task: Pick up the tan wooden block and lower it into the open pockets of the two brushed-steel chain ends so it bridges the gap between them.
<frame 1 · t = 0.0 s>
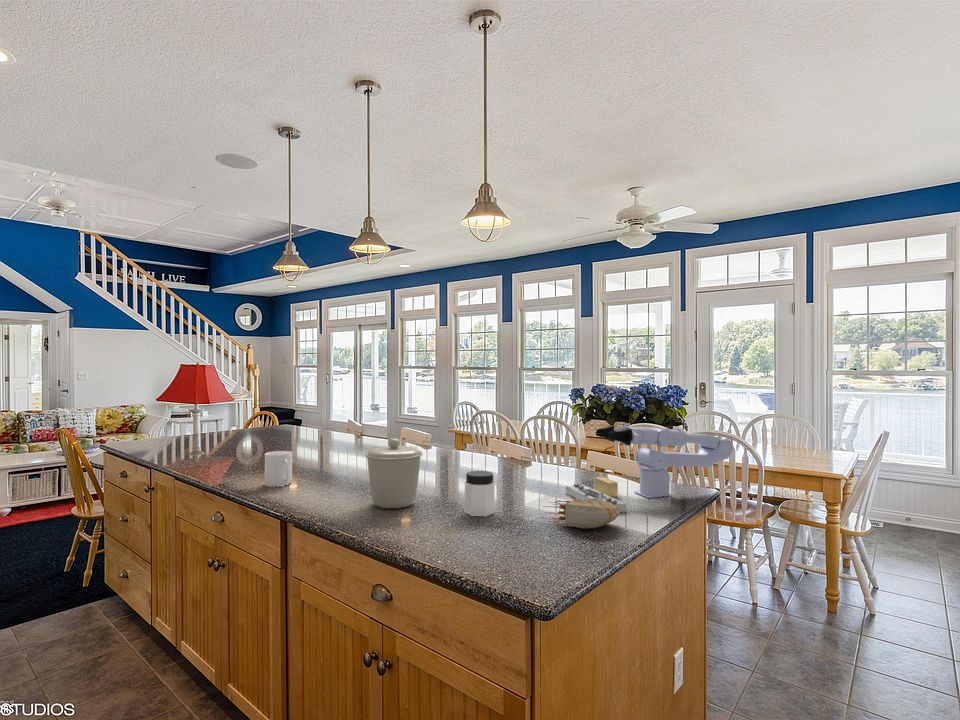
hand: (602, 434, 175), 22 cm above the worktop, tool horizontal, fingers open, 7 cm apart
jar: (479, 513, 159), on the worktop
canister: (393, 505, 168), on the worktop
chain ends: (594, 502, 172), on the worktop
tan wooden block: (605, 494, 182), on the worktop
nautilus: (579, 526, 148), on the worktop
mug: (280, 485, 194), on the worktop
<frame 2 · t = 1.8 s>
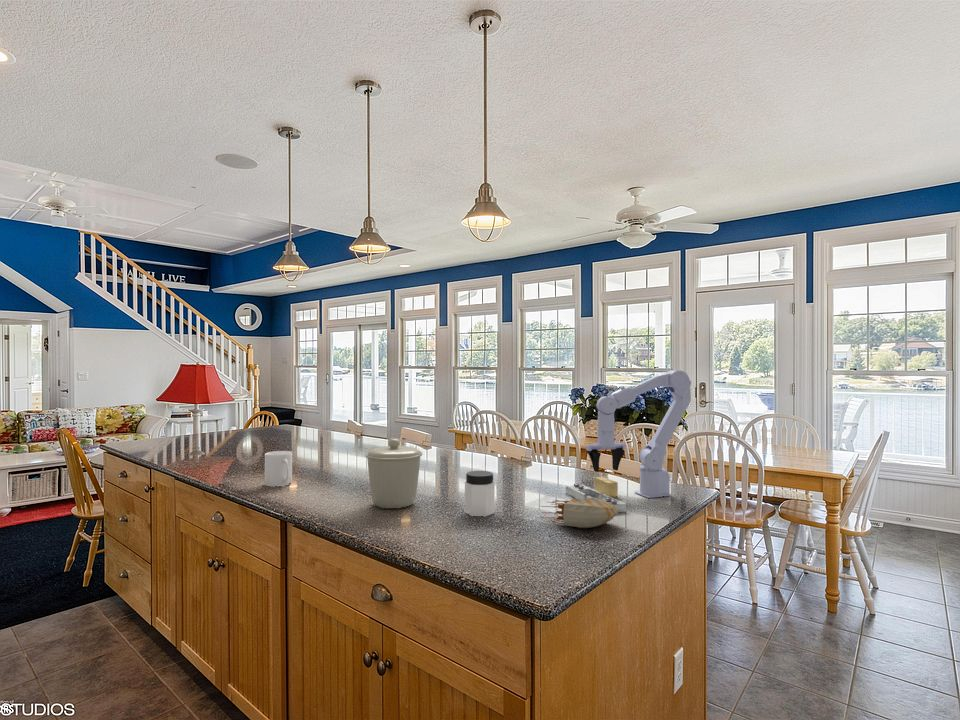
hand: (605, 470, 182), 8 cm above the worktop, tool pointing down, fingers open, 7 cm apart
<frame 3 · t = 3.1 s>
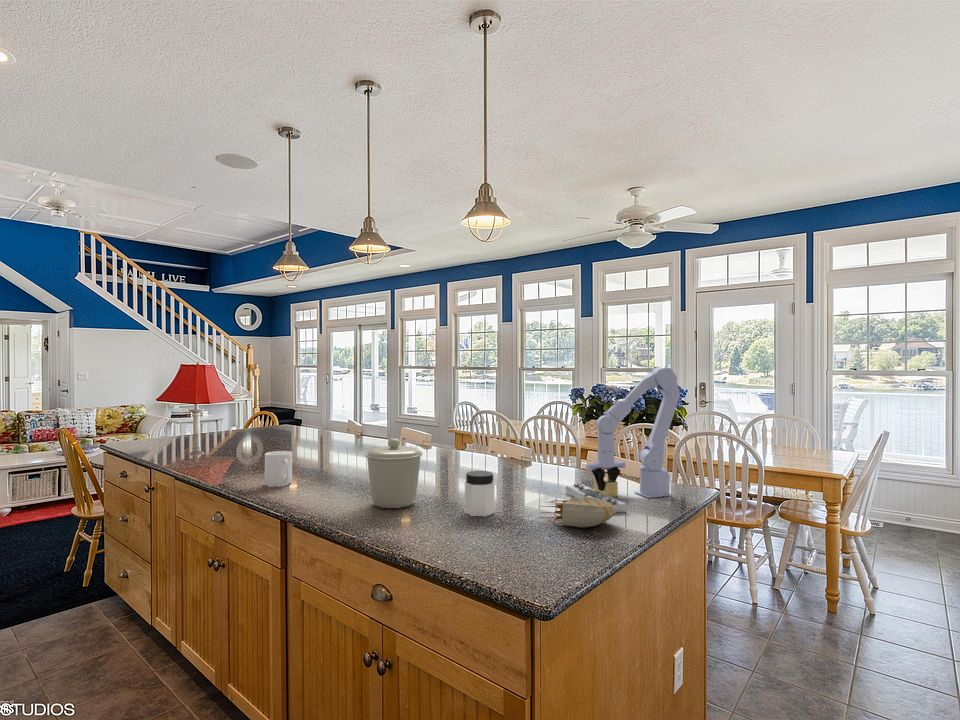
hand: (605, 489, 182), 1 cm above the worktop, tool pointing down, fingers closed on tan wooden block, 3 cm apart
tan wooden block: (605, 493, 182), on the worktop, touching gripper
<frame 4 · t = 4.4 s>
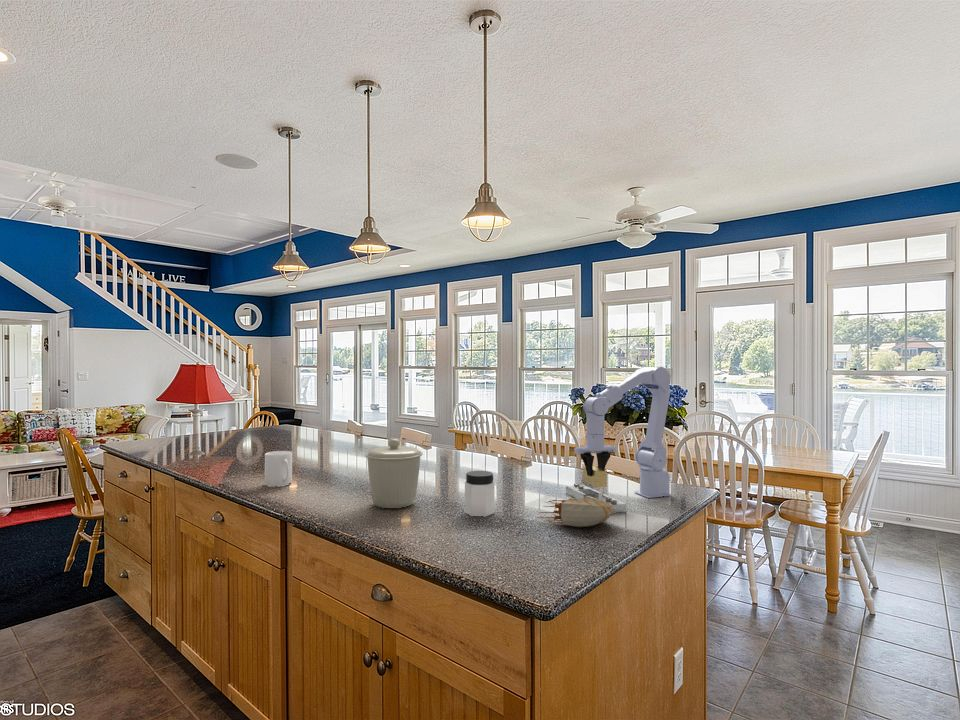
hand: (595, 475, 173), 9 cm above the worktop, tool pointing down, fingers closed on tan wooden block, 3 cm apart
tan wooden block: (594, 483, 173), point 6 cm above the worktop, touching gripper
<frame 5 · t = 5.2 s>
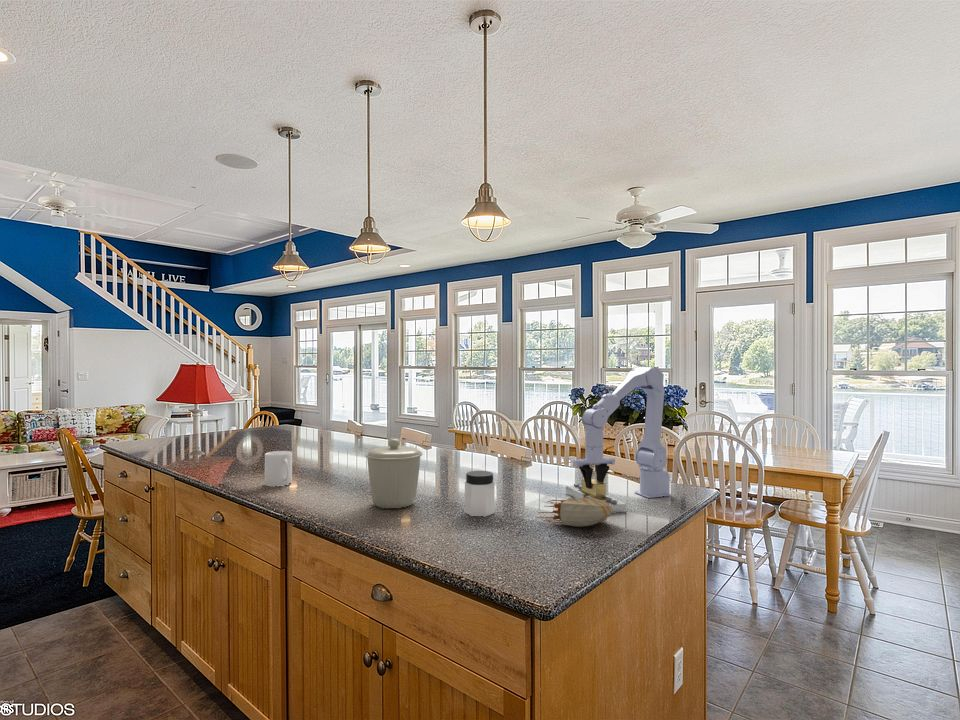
hand: (594, 487, 172), 5 cm above the worktop, tool pointing down, fingers closed on tan wooden block, 3 cm apart
tan wooden block: (593, 496, 172), point 2 cm above the worktop, touching gripper
when the fingers open (3 cm above the worktop, at t = 5.8 s): tan wooden block stays where it is, on the worktop.
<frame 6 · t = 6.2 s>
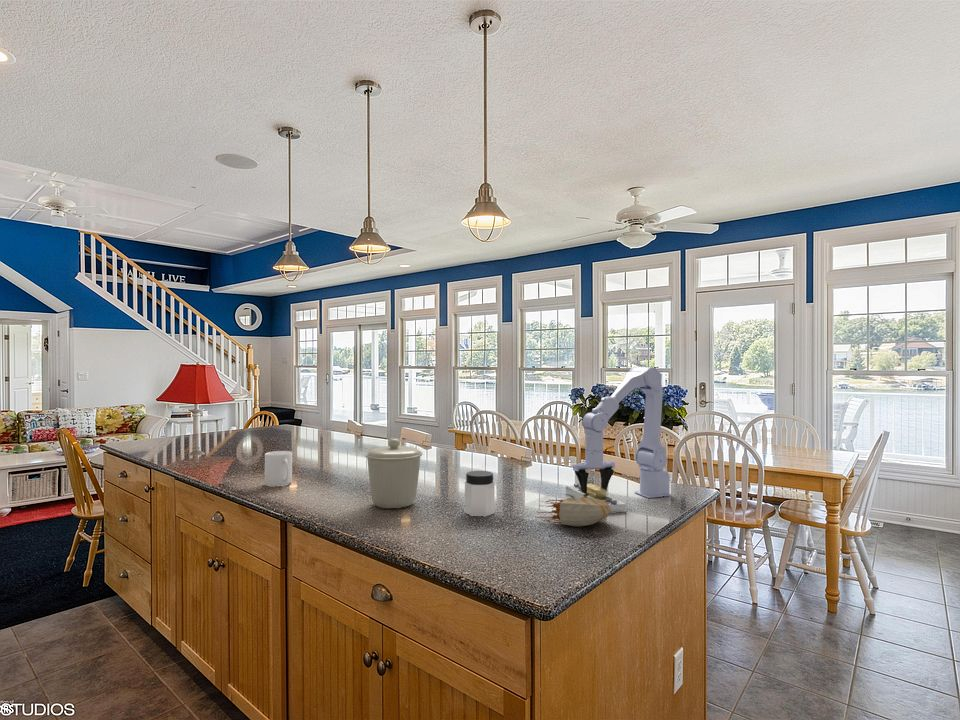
hand: (594, 491, 172), 3 cm above the worktop, tool pointing down, fingers open, 7 cm apart
tan wooden block: (593, 502, 172), on the worktop
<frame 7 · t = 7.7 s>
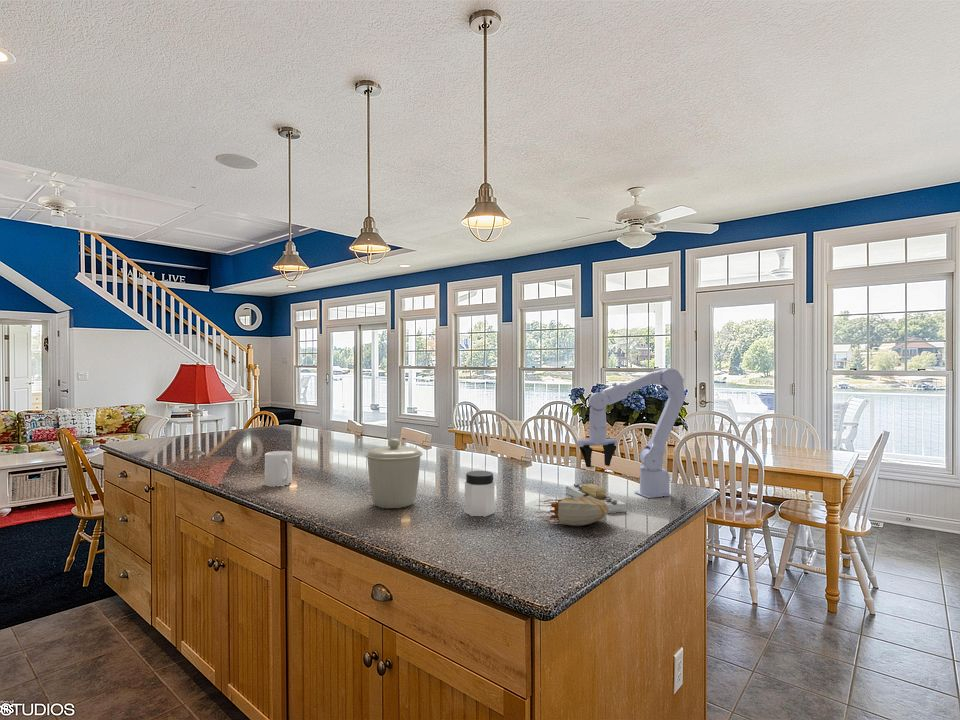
hand: (597, 466, 183), 9 cm above the worktop, tool pointing down, fingers open, 7 cm apart
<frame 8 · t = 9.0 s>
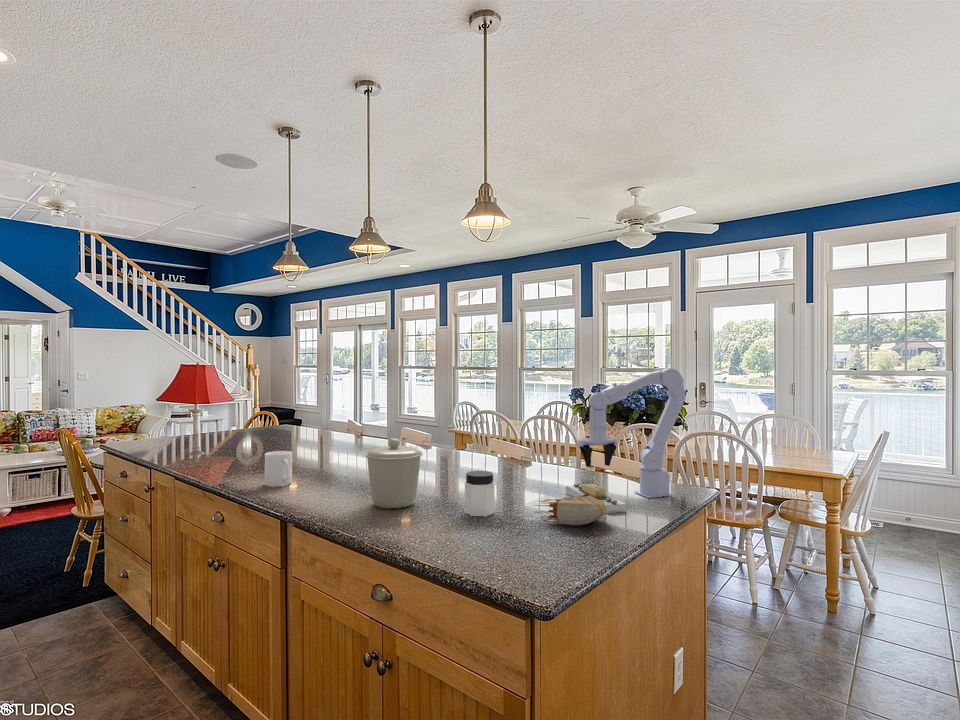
hand: (597, 465, 184), 9 cm above the worktop, tool pointing down, fingers open, 7 cm apart
at the end: tan wooden block 0.3 cm off-centre on the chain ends, point 0.0 cm above the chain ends's base; tan wooden block tilted 0°; the gripper is holding nothing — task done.
